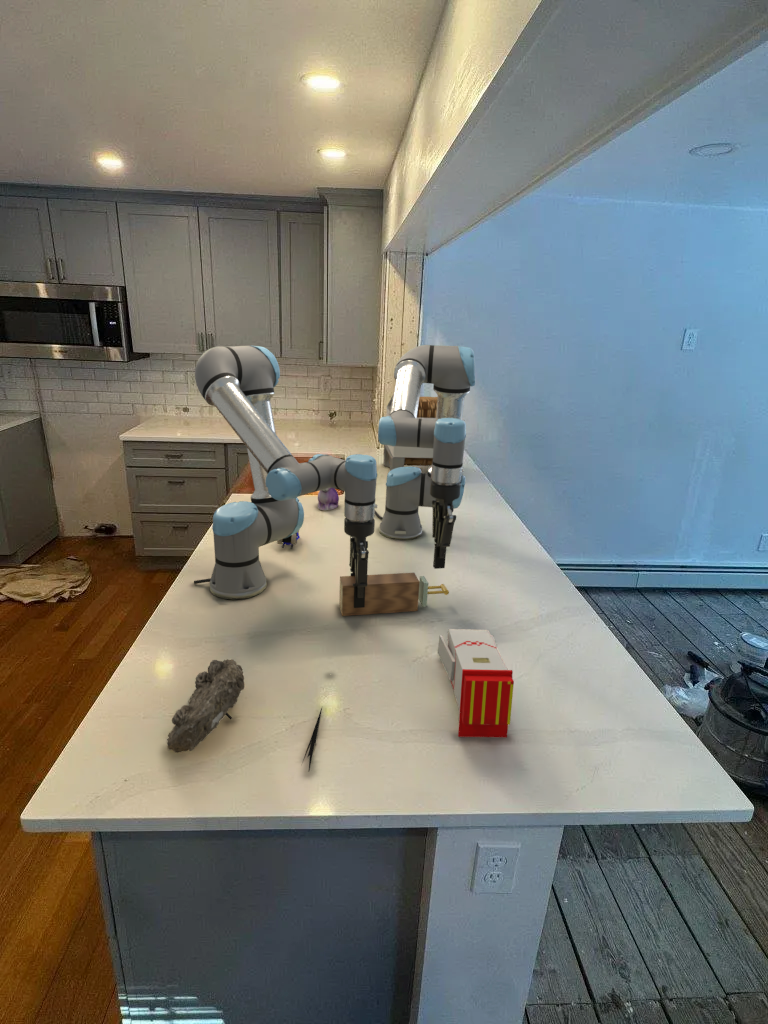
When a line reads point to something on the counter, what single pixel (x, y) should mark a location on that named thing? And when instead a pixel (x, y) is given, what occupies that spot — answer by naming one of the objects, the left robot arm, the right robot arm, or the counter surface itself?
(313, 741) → the feather
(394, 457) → the transformer
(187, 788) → the counter surface
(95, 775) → the counter surface
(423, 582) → the drawer
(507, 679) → the toy
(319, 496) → the figurine
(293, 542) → the figurine character
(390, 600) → the cabinet
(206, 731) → the fossil
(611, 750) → the counter surface
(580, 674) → the counter surface
